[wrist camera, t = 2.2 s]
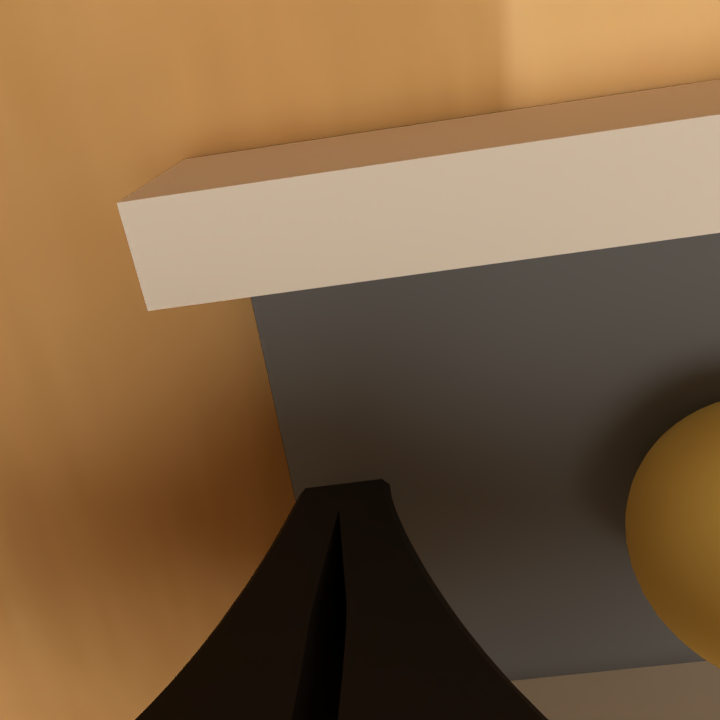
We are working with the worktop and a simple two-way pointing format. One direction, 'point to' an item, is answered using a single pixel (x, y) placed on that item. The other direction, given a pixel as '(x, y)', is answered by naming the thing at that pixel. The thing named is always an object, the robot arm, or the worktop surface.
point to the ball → (681, 530)
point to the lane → (484, 352)
